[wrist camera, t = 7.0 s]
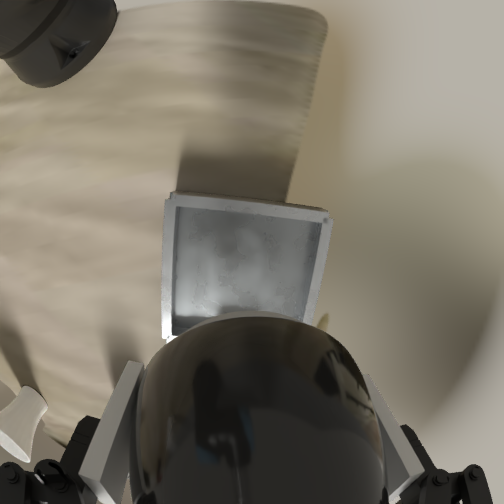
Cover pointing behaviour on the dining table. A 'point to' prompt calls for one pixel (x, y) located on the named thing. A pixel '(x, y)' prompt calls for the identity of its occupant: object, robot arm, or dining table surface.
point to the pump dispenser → (255, 418)
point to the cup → (21, 422)
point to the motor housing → (239, 258)
